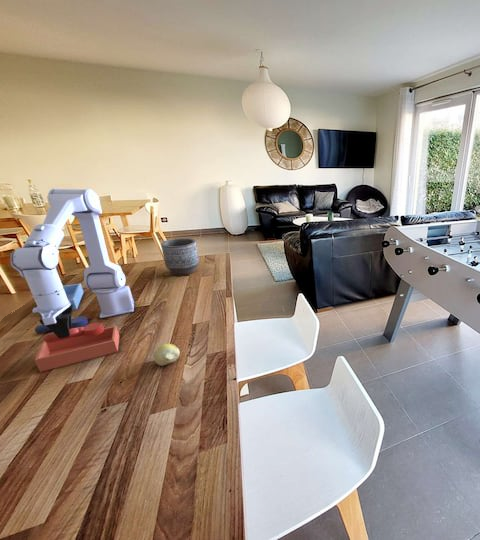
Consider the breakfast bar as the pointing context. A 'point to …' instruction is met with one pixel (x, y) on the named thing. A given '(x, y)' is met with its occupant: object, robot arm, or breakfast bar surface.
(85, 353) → the red bin
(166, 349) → the fruit
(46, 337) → the red spoon
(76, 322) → the navy spoon
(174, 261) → the planter
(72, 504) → the breakfast bar surface
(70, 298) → the blue bin
